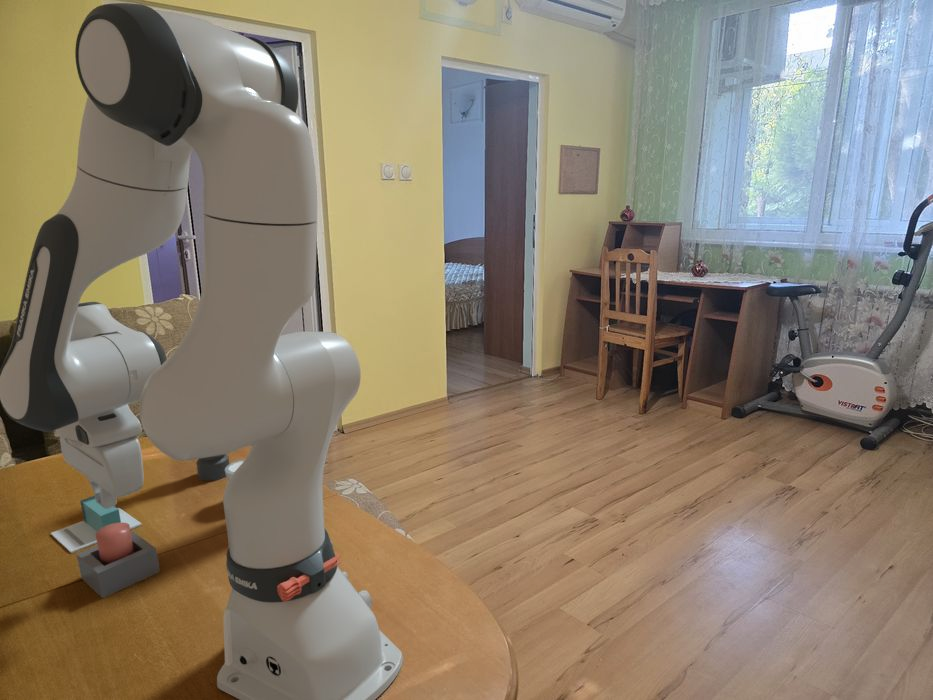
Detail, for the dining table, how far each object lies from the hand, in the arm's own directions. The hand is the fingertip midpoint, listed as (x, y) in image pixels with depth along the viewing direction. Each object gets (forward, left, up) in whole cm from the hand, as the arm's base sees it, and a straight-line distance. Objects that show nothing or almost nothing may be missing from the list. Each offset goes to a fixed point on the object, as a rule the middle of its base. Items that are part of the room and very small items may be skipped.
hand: (106, 504), depth 88 cm
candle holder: (+22, -27, -12) cm, 37 cm away
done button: (0, 0, -9) cm, 9 cm away
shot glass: (+6, -25, -12) cm, 28 cm away
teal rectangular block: (+17, -4, -11) cm, 21 cm away
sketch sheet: (+17, -3, -12) cm, 21 cm away
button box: (0, 0, -12) cm, 12 cm away
